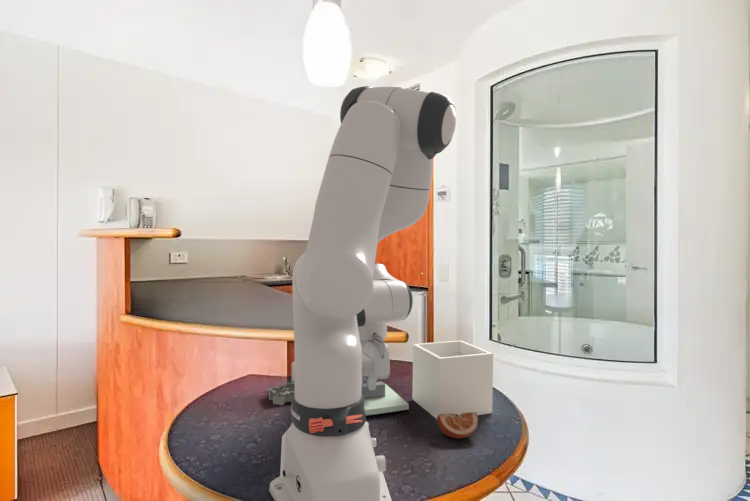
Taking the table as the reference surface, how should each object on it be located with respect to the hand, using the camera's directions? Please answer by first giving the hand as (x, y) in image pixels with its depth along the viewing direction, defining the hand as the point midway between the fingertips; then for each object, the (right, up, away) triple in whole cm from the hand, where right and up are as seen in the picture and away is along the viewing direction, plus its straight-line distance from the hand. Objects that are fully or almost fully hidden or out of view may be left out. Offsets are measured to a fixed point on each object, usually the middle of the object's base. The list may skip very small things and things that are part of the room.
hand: (368, 386), depth 103 cm
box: (+20, -5, 0) cm, 21 cm away
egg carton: (-20, -5, +4) cm, 21 cm away
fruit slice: (+19, -5, -16) cm, 25 cm away
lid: (0, -4, 0) cm, 4 cm away
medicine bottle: (-16, -4, +13) cm, 21 cm away
